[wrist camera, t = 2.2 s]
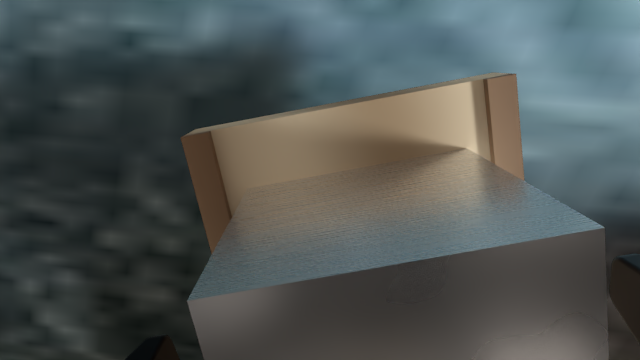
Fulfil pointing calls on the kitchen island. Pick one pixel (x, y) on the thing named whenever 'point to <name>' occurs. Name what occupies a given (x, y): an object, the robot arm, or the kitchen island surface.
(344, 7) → the kitchen island surface
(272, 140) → the beam
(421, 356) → the steel block
